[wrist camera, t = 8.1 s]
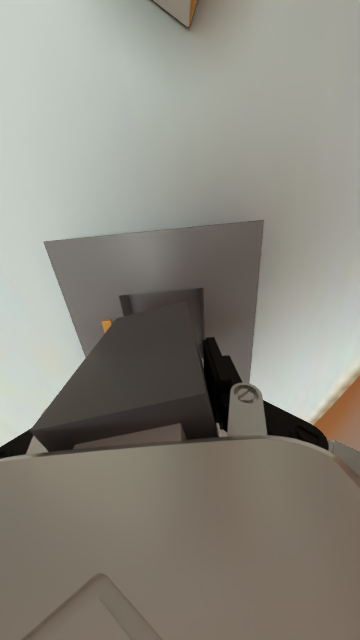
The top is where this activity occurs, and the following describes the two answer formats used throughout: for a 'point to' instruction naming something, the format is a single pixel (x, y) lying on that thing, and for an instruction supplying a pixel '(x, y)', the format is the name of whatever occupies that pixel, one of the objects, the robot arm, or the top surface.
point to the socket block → (166, 281)
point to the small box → (179, 9)
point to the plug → (134, 387)
